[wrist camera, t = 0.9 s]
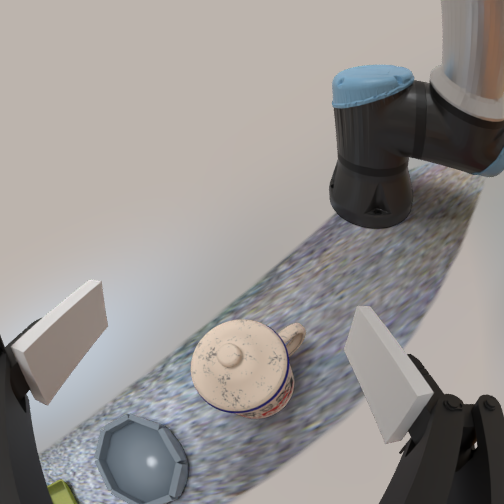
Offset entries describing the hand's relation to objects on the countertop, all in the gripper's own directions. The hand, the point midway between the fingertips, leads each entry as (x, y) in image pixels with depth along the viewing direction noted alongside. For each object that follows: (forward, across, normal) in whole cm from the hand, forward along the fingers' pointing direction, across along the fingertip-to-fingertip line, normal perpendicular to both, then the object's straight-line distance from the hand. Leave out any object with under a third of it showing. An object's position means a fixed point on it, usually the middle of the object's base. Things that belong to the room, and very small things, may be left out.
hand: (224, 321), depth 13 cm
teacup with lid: (+13, +5, -15) cm, 20 cm away
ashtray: (+4, -10, -26) cm, 28 cm away
